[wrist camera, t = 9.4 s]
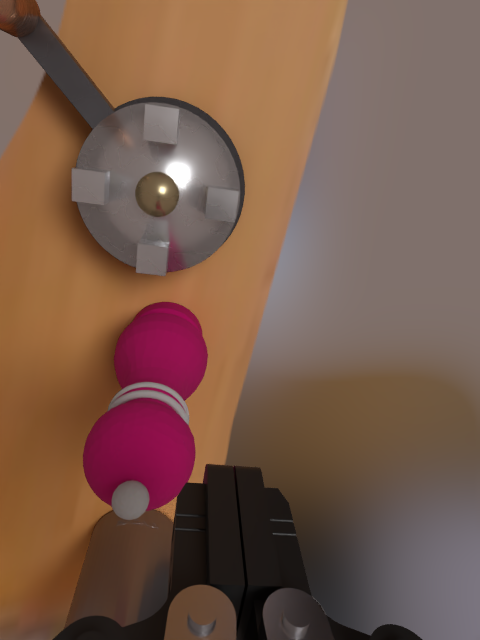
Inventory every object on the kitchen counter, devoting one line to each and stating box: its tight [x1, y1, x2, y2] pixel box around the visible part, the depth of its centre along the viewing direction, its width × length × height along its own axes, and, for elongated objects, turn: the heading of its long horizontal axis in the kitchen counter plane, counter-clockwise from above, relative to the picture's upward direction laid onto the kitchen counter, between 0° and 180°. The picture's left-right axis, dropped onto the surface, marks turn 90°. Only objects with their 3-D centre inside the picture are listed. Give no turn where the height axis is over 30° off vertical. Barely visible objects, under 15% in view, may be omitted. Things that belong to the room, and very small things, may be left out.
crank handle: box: [0, 0, 240, 276], centre depth 28 cm, size 20×11×6 cm, turn 37°
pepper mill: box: [83, 302, 208, 520], centre depth 30 cm, size 7×7×20 cm
